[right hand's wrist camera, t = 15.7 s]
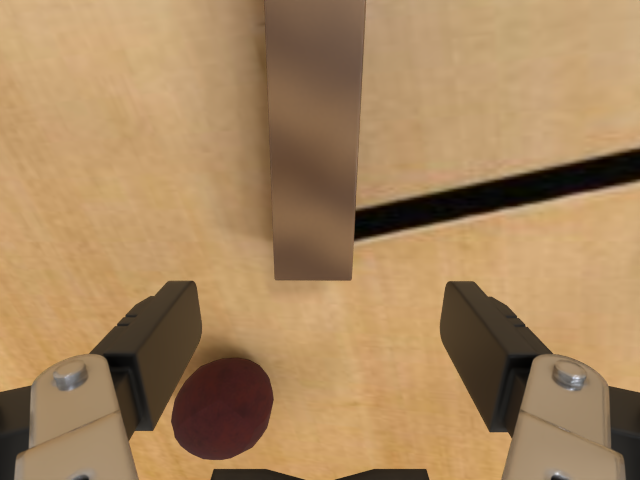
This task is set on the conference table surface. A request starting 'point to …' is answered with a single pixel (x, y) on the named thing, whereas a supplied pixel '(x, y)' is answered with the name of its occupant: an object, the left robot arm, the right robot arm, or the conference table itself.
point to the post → (314, 133)
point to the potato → (222, 409)
